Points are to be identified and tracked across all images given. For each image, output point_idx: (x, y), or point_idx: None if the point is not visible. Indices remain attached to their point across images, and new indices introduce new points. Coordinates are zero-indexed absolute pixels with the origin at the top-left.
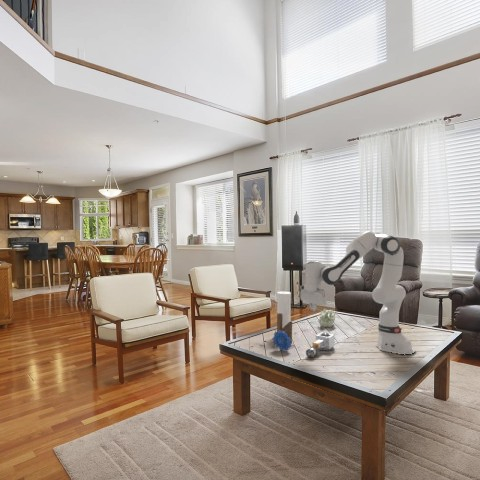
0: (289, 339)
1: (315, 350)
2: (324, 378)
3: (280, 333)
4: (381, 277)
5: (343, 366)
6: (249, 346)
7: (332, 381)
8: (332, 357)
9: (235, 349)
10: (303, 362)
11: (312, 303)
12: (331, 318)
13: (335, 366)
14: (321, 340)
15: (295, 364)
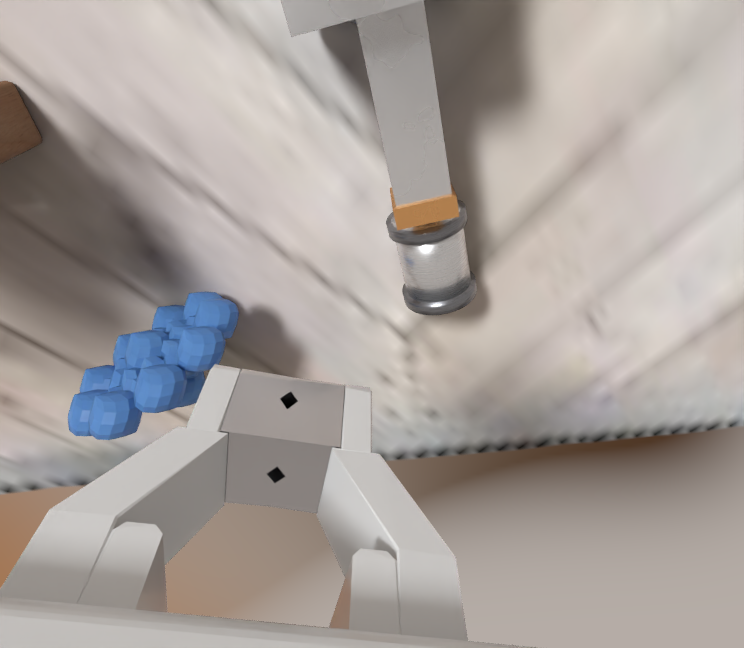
0: (220, 357)
1: (462, 250)
2: (665, 430)
3: (137, 427)
4: None
5: (721, 222)
6: (5, 413)
7: (714, 428)
8: (573, 118)
9: (38, 488)
10: (456, 361)
11: (151, 585)
12: None
13: (666, 265)
14: (409, 64)
15: (441, 411)
